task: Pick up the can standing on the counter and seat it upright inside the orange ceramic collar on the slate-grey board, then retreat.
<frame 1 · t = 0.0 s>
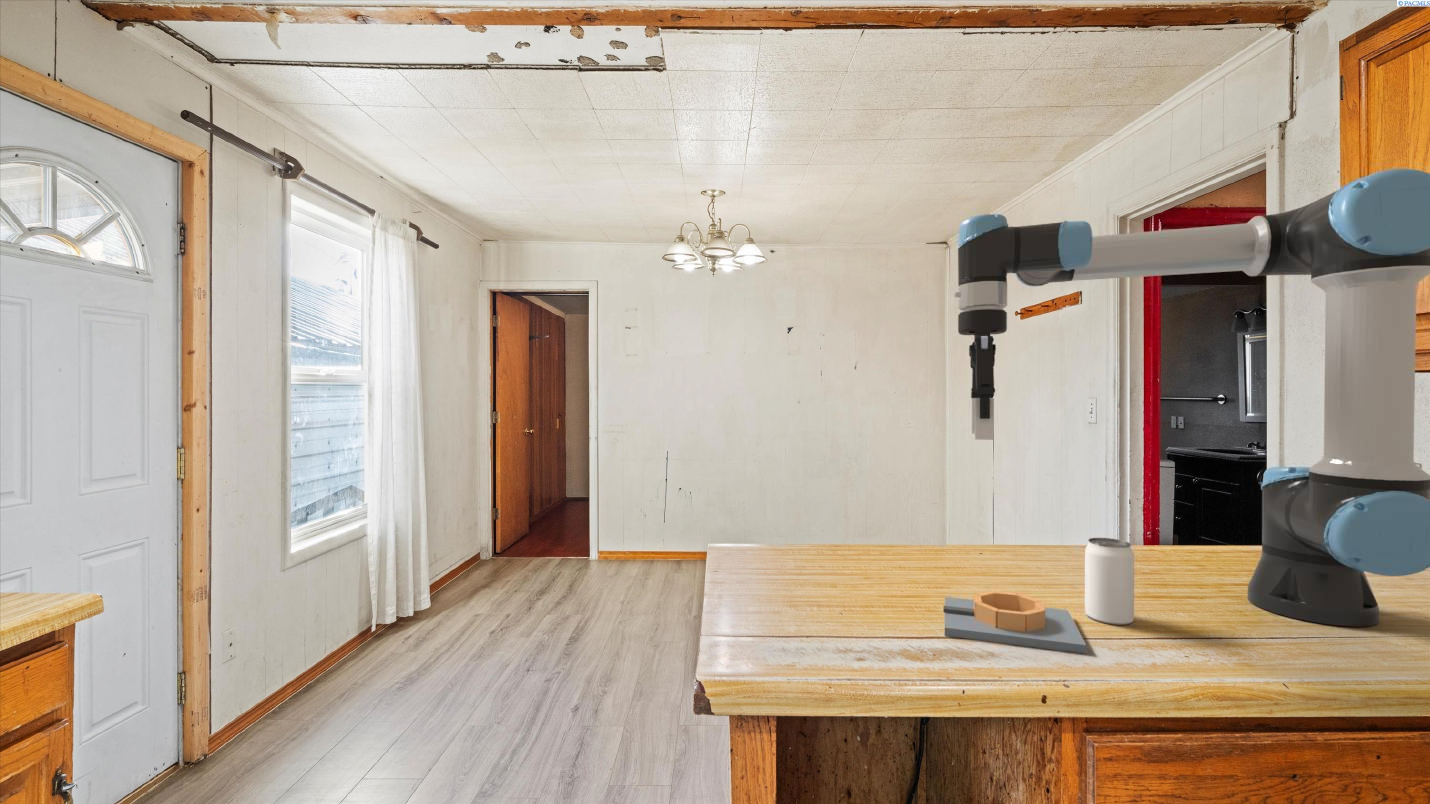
hand: (982, 436, 103), 28 cm above the counter, fingers open, 13 cm apart
board: (1008, 626, 92), on the counter
can: (1108, 619, 95), on the counter
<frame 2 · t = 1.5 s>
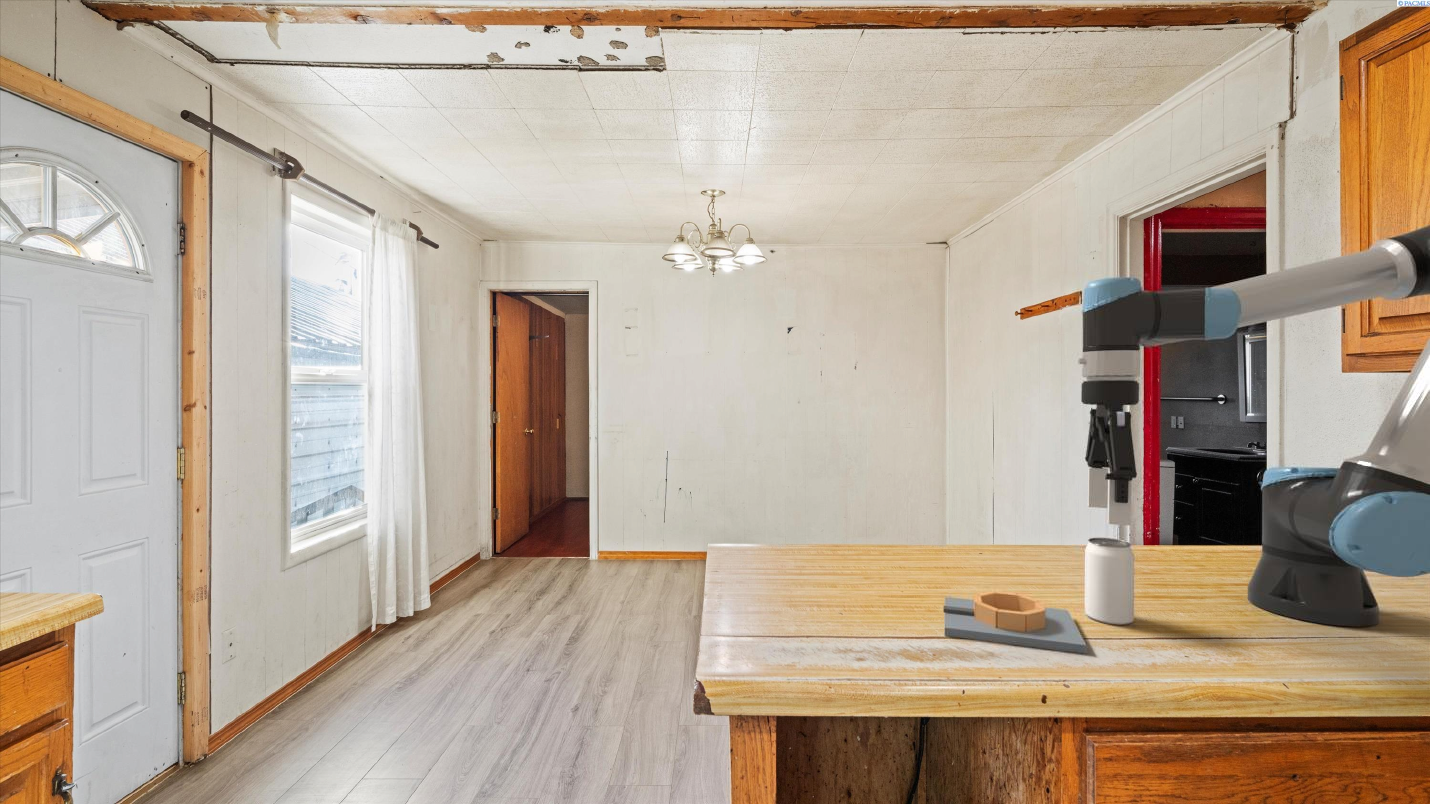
hand: (1107, 515, 95), 16 cm above the counter, fingers open, 13 cm apart
nothing on the counter moved.
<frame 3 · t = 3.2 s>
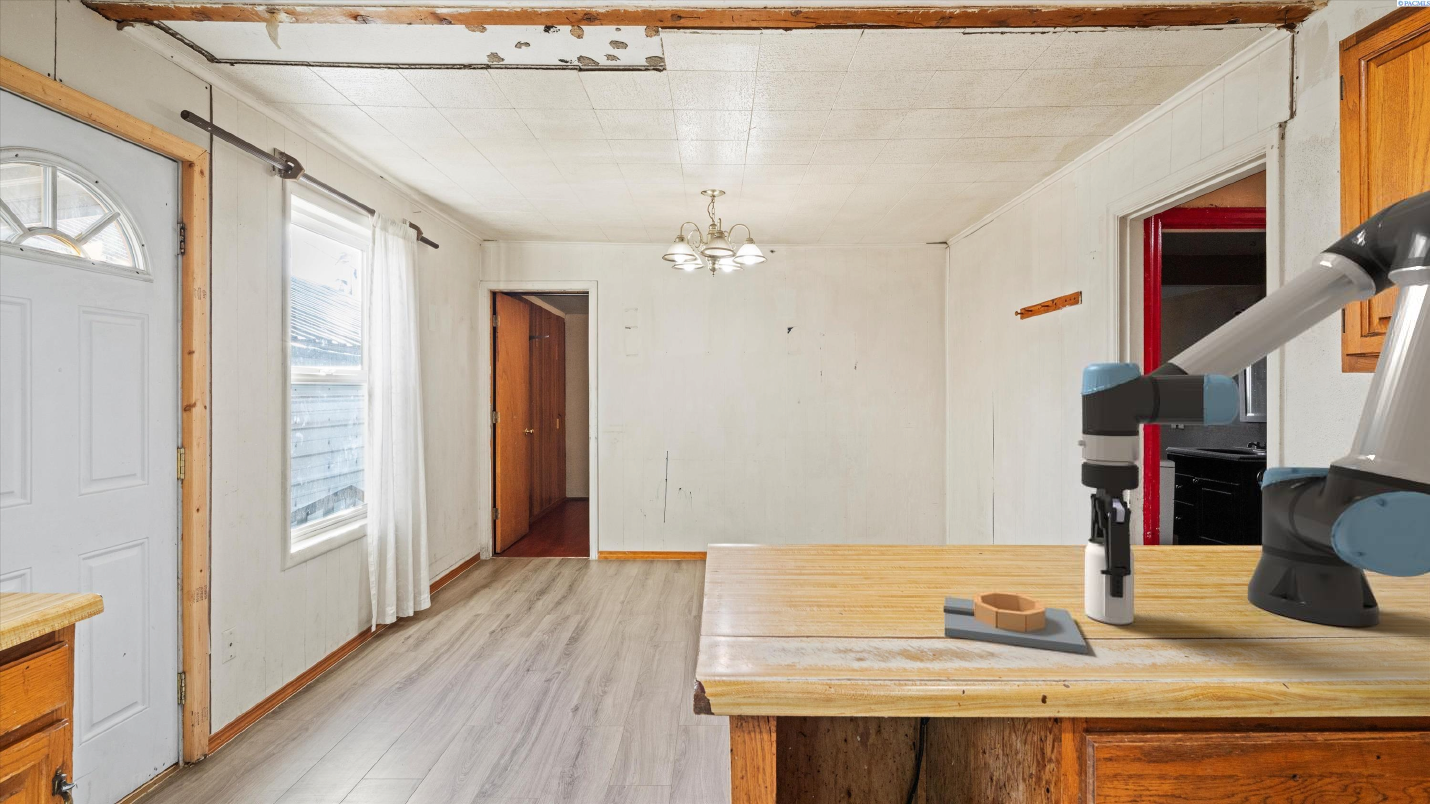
hand: (1108, 608, 95), 1 cm above the counter, fingers closed on can, 6 cm apart
can: (1108, 619, 95), on the counter, touching gripper
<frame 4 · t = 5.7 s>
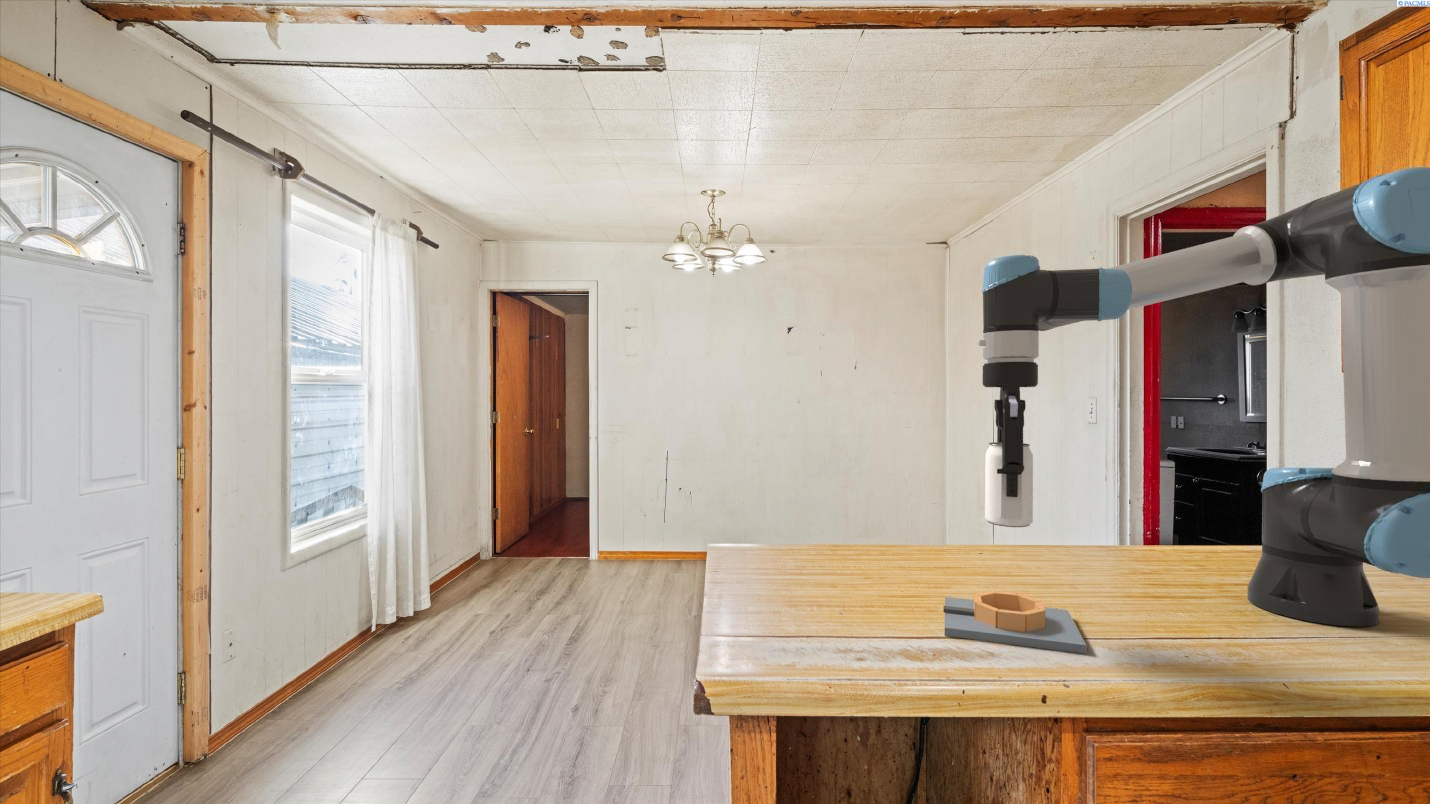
hand: (1008, 513, 92), 17 cm above the counter, fingers closed on can, 6 cm apart
can: (1008, 524, 92), point 16 cm above the counter, touching gripper
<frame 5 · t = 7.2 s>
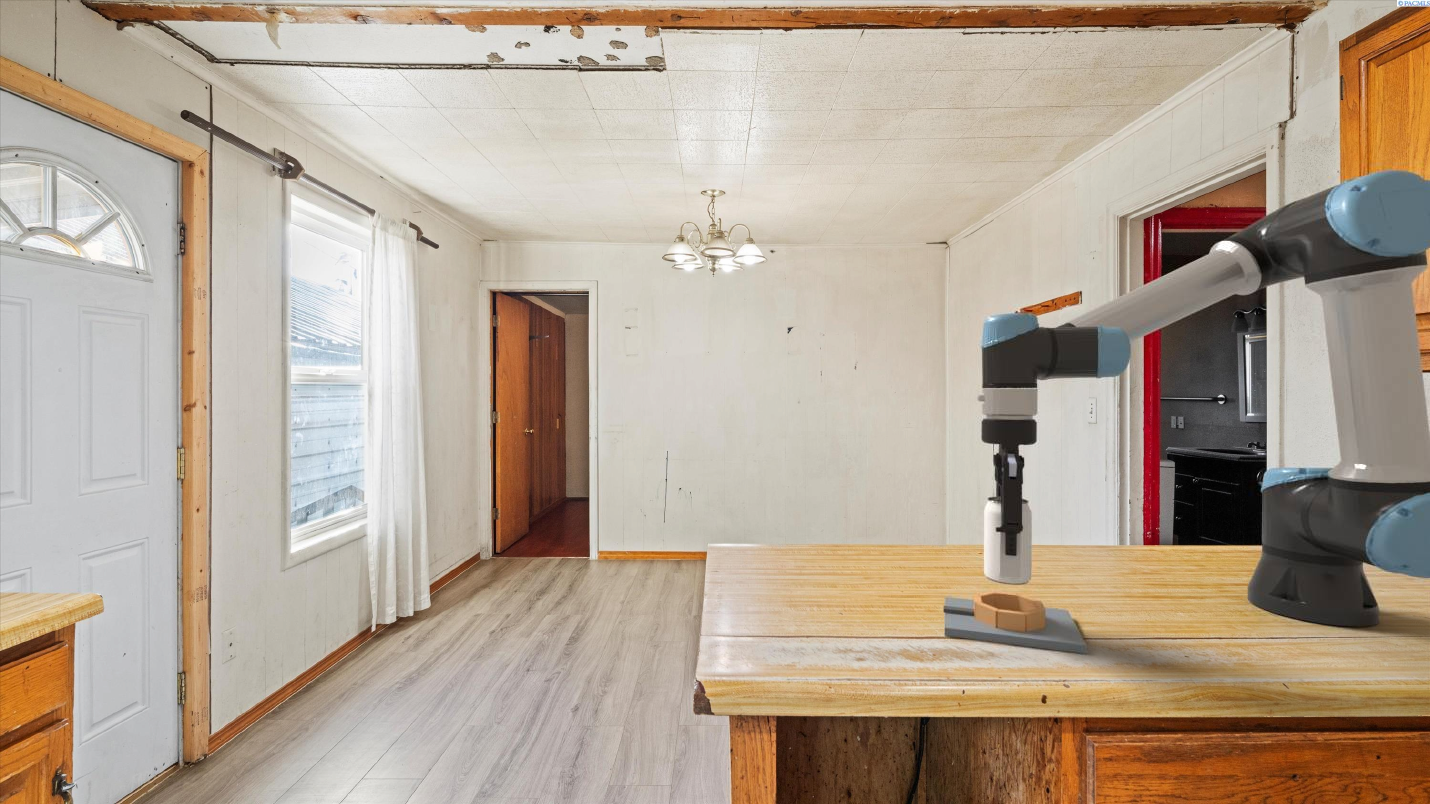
hand: (1007, 569, 92), 9 cm above the counter, fingers closed on can, 6 cm apart
can: (1007, 579, 92), point 7 cm above the counter, touching gripper
when the fingers open (4 cm above the counter, at t = 8.4 s): can drops 2 cm, resting on board.
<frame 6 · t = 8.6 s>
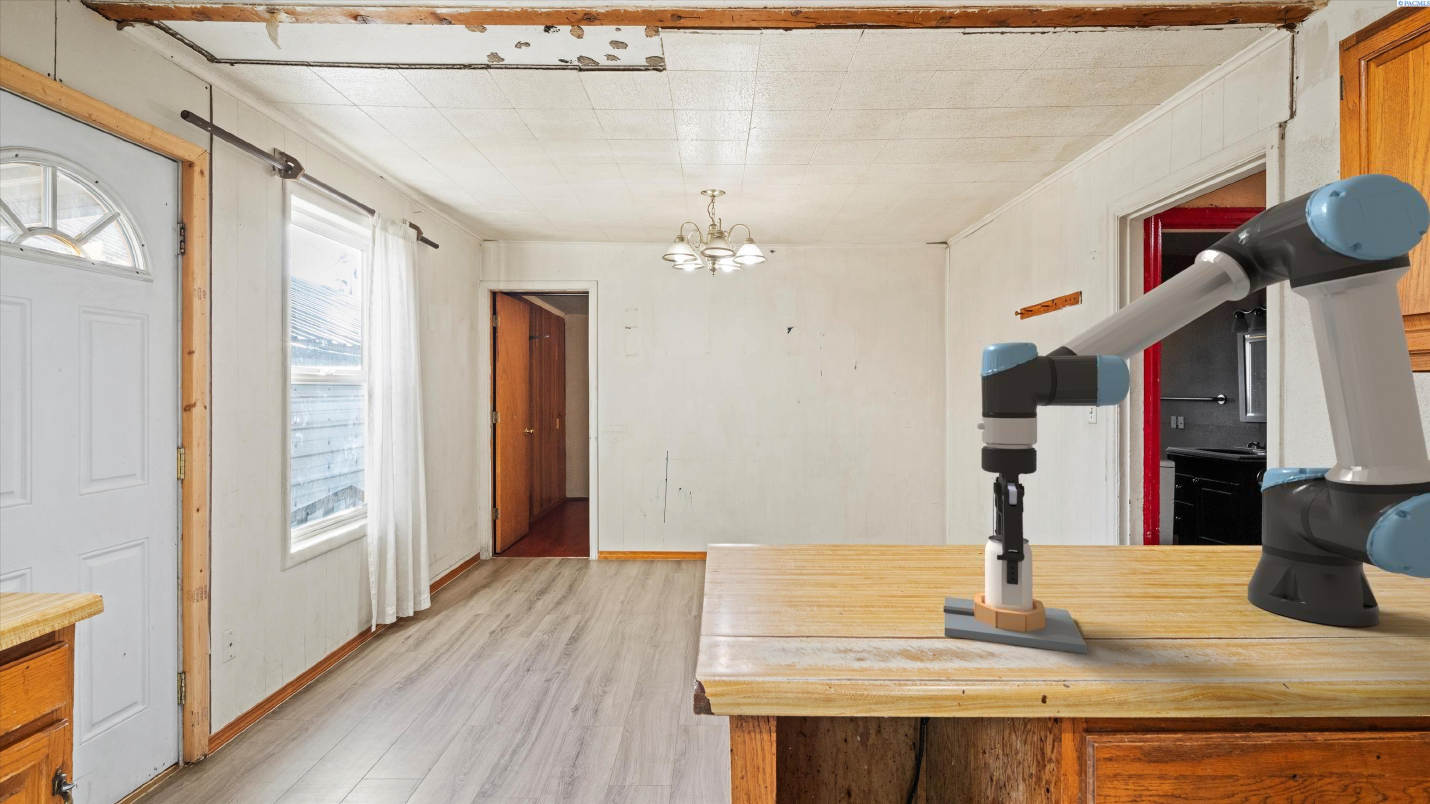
hand: (1008, 594, 92), 5 cm above the counter, fingers open, 9 cm apart
can: (1008, 619, 92), point 1 cm above the counter, touching board
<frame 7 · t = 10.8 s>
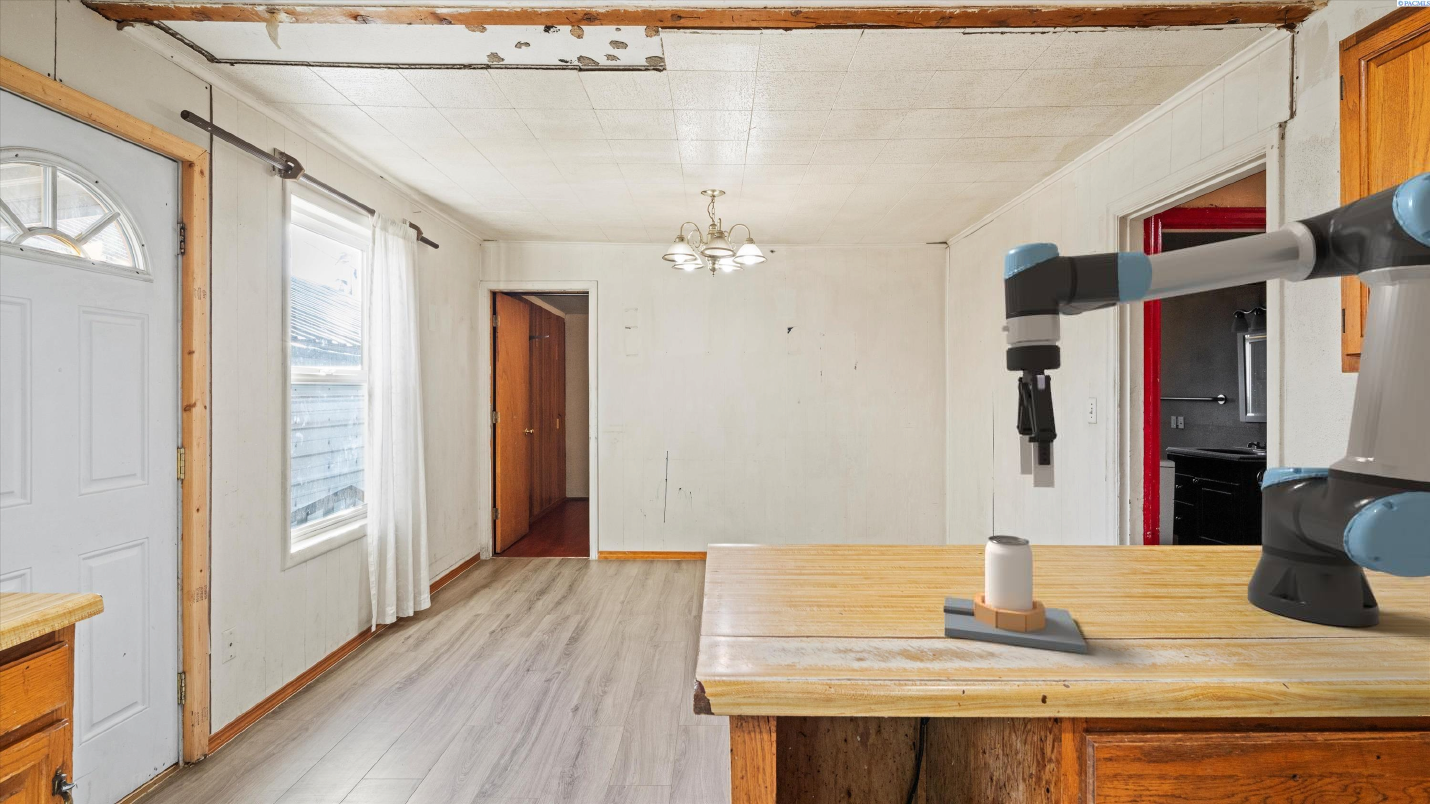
hand: (1035, 480, 95), 22 cm above the counter, fingers open, 13 cm apart
nothing on the counter moved.
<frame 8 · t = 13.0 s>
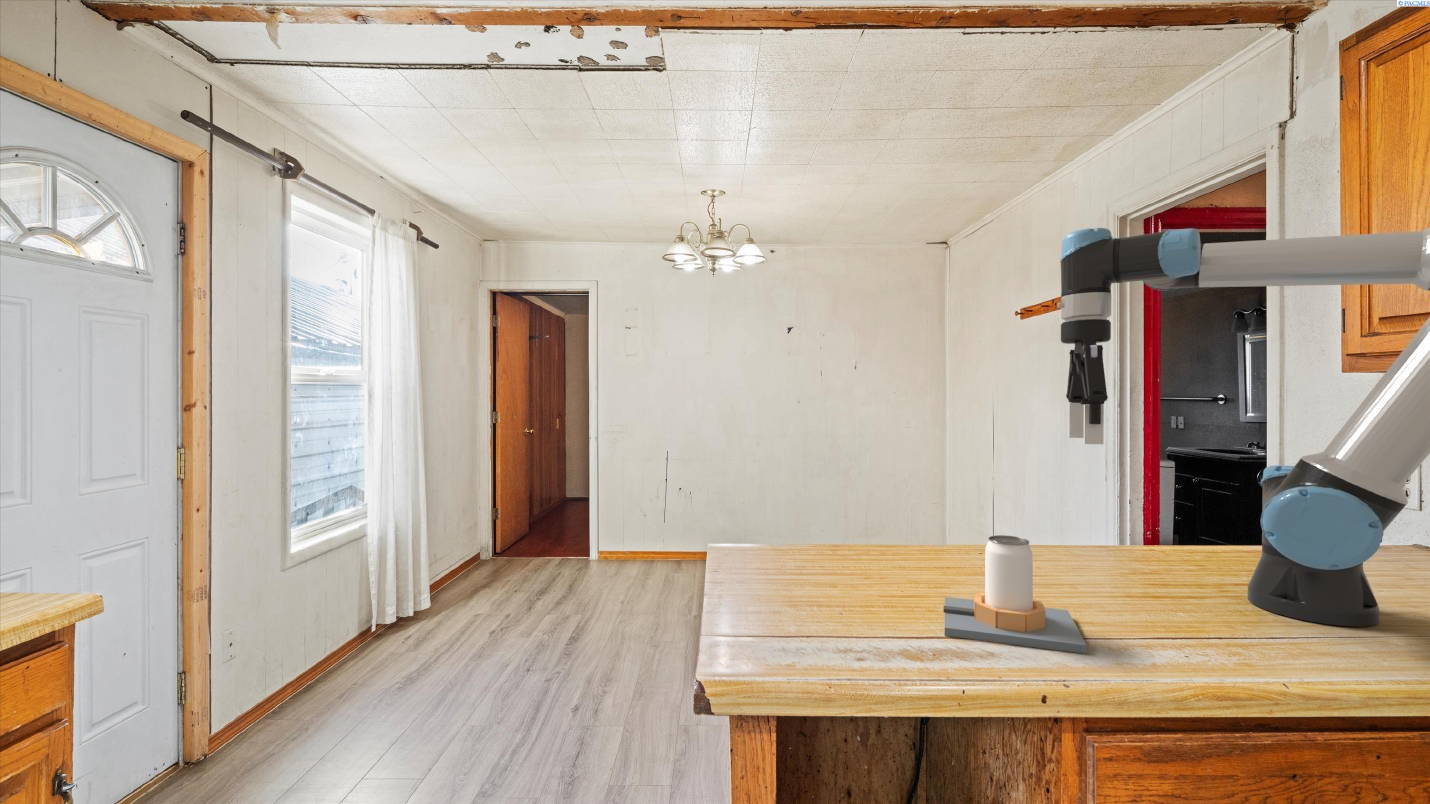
hand: (1084, 440, 107), 27 cm above the counter, fingers open, 13 cm apart
nothing on the counter moved.
at the end: can 0.0 cm from the board (horizontally); can point 1.0 cm above the counter; can tilted 0° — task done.
